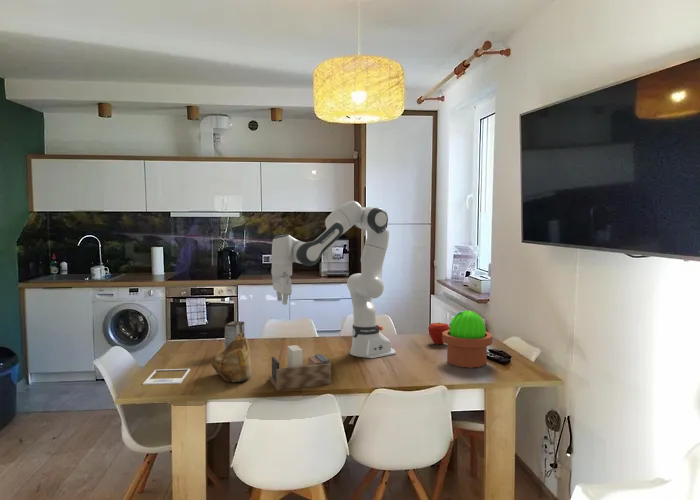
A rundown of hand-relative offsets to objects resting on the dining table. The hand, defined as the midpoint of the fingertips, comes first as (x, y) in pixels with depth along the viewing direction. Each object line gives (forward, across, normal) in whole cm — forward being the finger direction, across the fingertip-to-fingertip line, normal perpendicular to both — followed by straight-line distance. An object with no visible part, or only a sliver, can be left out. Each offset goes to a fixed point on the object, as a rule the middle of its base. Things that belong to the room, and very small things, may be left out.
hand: (282, 302), depth 220 cm
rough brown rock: (+29, -4, +23) cm, 37 cm away
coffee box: (+29, +26, +17) cm, 43 cm away
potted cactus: (+29, -23, -81) cm, 89 cm away
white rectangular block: (+27, -21, 0) cm, 34 cm away
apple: (+29, +11, -87) cm, 92 cm away
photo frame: (+30, +4, +48) cm, 57 cm away
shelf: (+29, -21, -2) cm, 36 cm away
